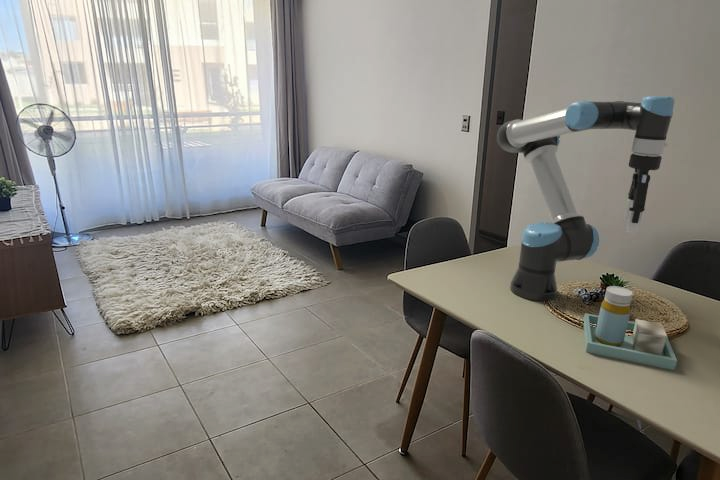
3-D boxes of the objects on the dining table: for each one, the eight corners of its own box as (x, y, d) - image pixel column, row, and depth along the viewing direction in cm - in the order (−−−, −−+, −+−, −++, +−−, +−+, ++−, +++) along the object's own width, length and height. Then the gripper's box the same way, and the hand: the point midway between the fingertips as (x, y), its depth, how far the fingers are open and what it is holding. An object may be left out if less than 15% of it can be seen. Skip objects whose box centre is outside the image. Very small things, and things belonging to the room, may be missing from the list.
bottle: (612, 349, 123) (623, 298, 118) (588, 337, 129) (599, 288, 124) (628, 343, 126) (640, 293, 121) (605, 331, 132) (615, 283, 127)
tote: (585, 354, 122) (587, 342, 121) (582, 323, 137) (584, 313, 136) (673, 373, 115) (677, 360, 113) (660, 338, 130) (663, 327, 129)
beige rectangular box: (634, 351, 122) (639, 331, 120) (630, 338, 128) (635, 318, 126) (661, 357, 120) (667, 336, 118) (656, 343, 126) (661, 323, 124)
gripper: (668, 161, 116) (649, 241, 123) (656, 149, 137) (641, 218, 144) (634, 159, 119) (617, 236, 126) (628, 147, 140) (614, 214, 147)
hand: (630, 227), depth 135 cm, fingers open, 13 cm apart
